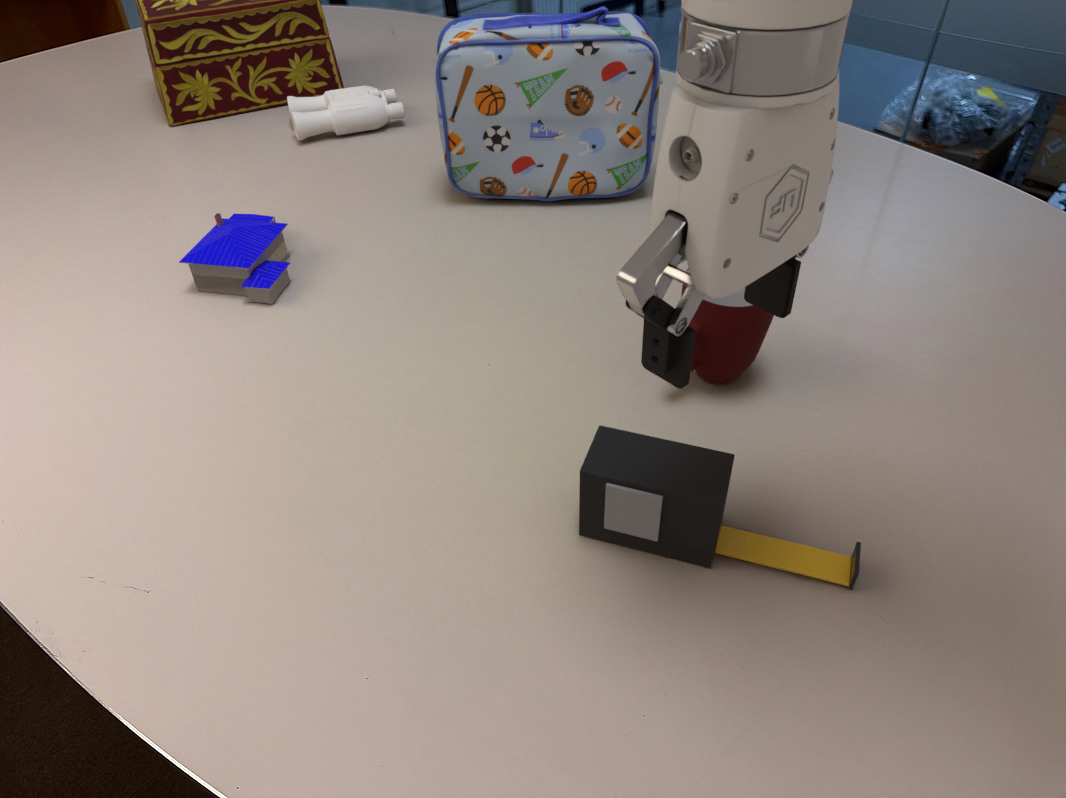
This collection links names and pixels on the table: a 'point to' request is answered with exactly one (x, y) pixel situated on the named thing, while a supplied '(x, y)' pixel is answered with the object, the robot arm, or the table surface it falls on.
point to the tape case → (654, 495)
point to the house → (241, 258)
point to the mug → (726, 336)
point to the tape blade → (790, 556)
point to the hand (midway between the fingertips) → (717, 340)
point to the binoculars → (343, 111)
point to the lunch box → (547, 104)
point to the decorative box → (236, 55)
